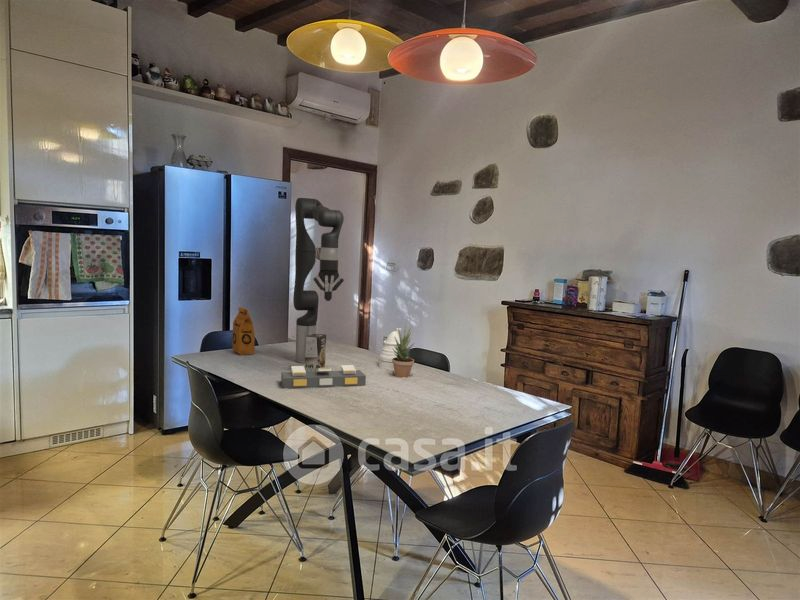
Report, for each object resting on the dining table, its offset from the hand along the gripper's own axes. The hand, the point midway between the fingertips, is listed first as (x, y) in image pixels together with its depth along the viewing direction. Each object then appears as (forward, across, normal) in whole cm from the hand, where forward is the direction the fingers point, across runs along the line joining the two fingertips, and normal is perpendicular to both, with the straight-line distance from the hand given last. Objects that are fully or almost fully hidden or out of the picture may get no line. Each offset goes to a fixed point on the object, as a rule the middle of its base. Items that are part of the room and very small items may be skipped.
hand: (327, 300), depth 233 cm
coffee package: (+32, +31, -52) cm, 69 cm away
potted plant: (+32, -33, +3) cm, 46 cm away
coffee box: (+32, +3, -8) cm, 33 cm away
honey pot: (+32, -34, -14) cm, 49 cm away
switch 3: (+26, -7, +12) cm, 30 cm away
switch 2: (+26, +3, +12) cm, 29 cm away
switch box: (+32, +3, +12) cm, 34 cm away
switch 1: (+26, +13, +12) cm, 32 cm away
